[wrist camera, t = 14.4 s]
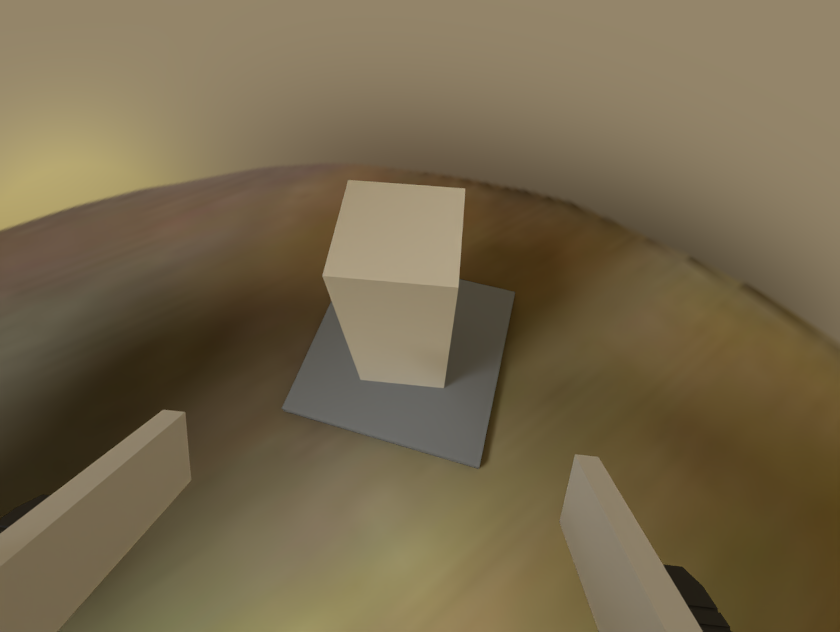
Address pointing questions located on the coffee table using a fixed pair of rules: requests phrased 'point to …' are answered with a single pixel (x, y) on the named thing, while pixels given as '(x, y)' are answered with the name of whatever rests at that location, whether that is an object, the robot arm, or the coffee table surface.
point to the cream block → (397, 278)
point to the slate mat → (410, 404)
